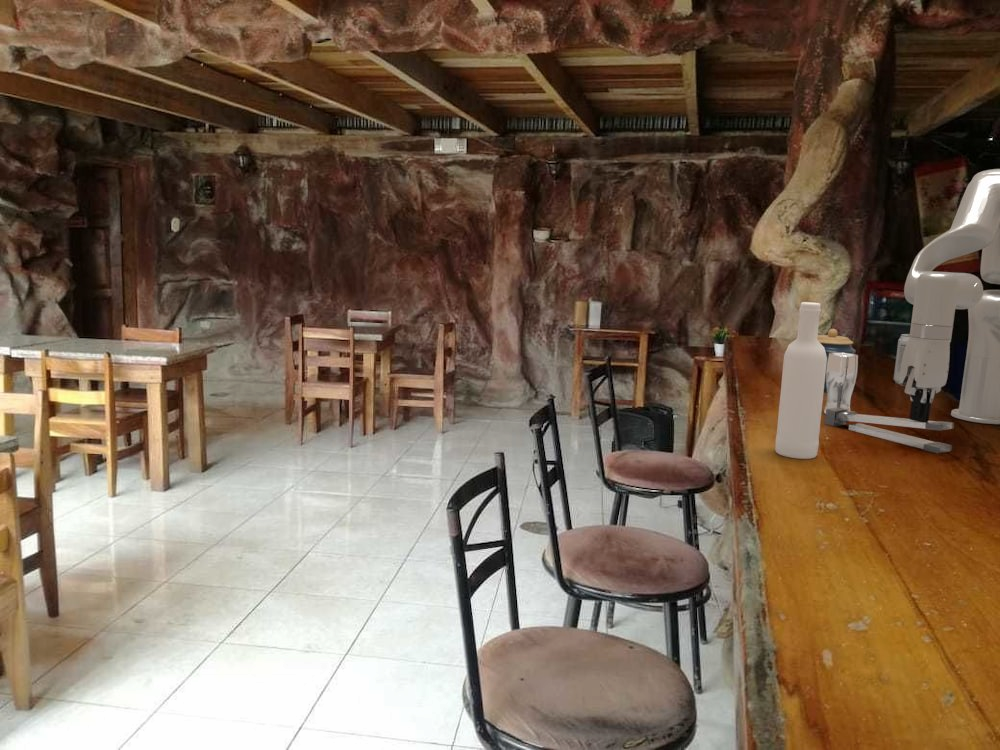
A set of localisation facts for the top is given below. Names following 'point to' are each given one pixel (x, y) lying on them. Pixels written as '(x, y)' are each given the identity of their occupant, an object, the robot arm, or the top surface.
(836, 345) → the canister
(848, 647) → the top surface
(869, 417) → the upper jaw
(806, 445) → the bottle
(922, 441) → the tongs base
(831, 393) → the beer glass
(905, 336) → the energy drink can
